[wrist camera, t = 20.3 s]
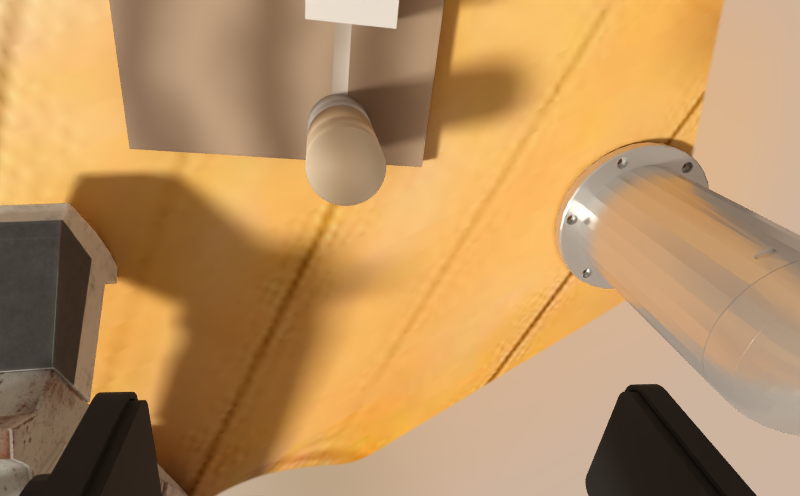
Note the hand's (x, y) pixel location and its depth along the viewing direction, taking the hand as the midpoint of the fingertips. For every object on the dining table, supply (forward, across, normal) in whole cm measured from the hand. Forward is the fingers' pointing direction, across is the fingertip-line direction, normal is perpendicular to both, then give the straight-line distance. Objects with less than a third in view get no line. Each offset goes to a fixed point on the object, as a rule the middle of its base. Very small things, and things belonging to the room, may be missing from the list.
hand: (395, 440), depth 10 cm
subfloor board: (+27, +4, -6) cm, 28 cm away
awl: (+26, 0, 0) cm, 26 cm away
